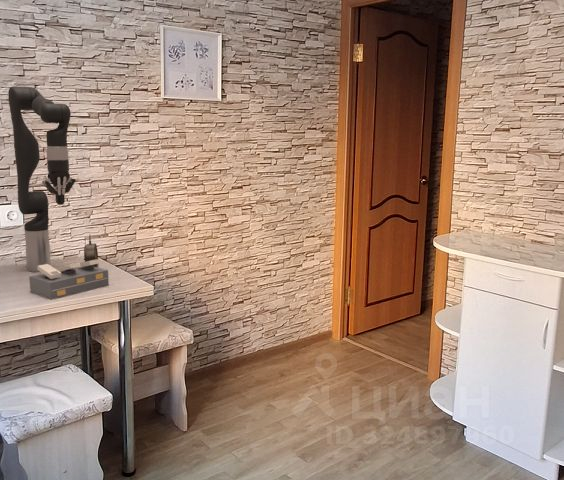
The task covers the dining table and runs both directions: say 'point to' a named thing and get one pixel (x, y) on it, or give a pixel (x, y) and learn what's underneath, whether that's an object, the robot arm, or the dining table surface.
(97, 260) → the rocker
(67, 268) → the rocker
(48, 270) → the rocker
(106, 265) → the dining table surface
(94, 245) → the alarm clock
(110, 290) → the dining table surface
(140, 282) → the dining table surface
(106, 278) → the switch unit
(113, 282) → the dining table surface
